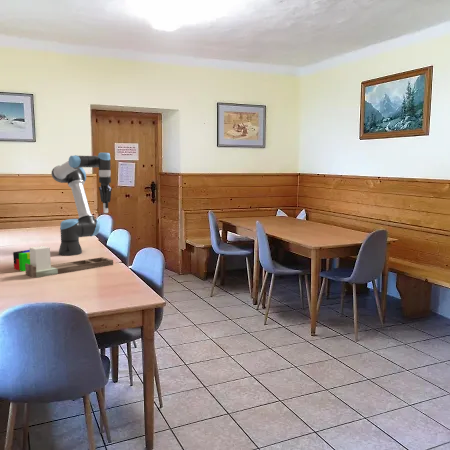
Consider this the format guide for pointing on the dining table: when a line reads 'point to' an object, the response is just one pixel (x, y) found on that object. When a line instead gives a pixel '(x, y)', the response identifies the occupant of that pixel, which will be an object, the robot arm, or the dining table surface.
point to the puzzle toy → (21, 259)
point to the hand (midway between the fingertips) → (105, 212)
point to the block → (40, 258)
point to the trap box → (68, 267)
